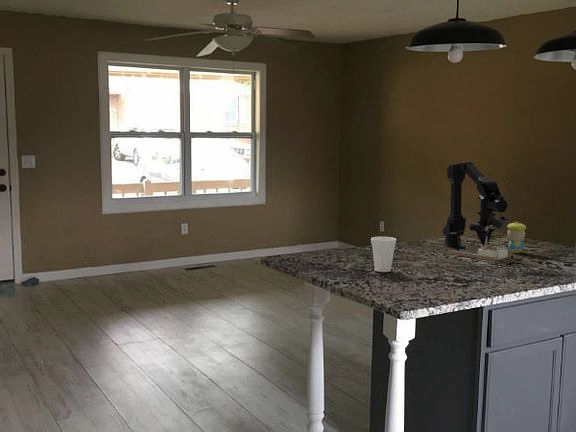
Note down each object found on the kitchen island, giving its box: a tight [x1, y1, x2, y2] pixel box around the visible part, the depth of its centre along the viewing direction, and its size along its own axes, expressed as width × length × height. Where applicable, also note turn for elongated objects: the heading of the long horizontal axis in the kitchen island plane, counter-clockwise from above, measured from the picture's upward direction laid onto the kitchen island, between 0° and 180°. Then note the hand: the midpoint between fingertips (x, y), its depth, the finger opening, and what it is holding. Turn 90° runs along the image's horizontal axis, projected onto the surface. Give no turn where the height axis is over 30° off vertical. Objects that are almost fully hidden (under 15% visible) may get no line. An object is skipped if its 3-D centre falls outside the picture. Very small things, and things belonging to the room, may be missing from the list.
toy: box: [506, 221, 527, 254], centre depth 285 cm, size 8×9×15 cm
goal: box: [486, 247, 509, 261], centre depth 273 cm, size 5×10×4 cm, turn 134°
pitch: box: [447, 246, 512, 262], centre depth 279 cm, size 22×16×2 cm
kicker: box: [478, 236, 490, 256], centre depth 277 cm, size 4×4×8 cm
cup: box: [370, 236, 397, 273], centre depth 247 cm, size 10×10×13 cm
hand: (485, 245), depth 277 cm, fingers closed on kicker, 2 cm apart
